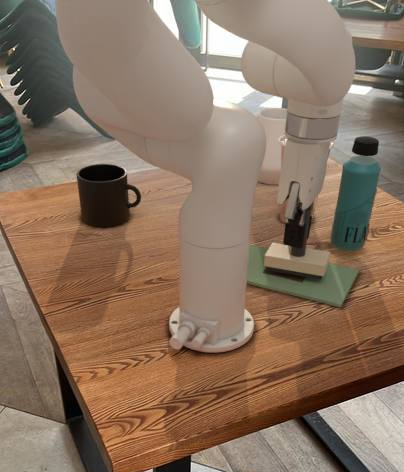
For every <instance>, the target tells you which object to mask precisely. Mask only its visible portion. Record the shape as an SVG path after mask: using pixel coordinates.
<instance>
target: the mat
mask: <svg viewBox="0 0 404 472" xmlns="http://www.w3.org/2000/svg"><path fill="white" fill-rule="evenodd" d="M268 249H269V248H267V247H262V246H258V245H255V244H250V248H249V261H248V274H247V285H251V286H254V287H259V288H263V289H266V290H270V291H275V292H278V293H282V294H286V295H289V296H290V295H291V296H293V297H298V298H301V299H306V300H310V301H314V302H317V303H322V304H326V305H329V306H333V307H337V308H342V306H343V303H344V302H345V300H346V299H347V296H348V295H349V292H350V290H351V288H352V286H353V285H354V282H355V280H356V278H357V277H358V274H359V272H360V269H357V268H353V267H348V266H345V265H340V264H335V263H331V262H329V264H328V266H327V269H326V272H325V274H324V276H323V277H322V279H316V278H310V277H304V276H298V275H293V274H287V273H281V272H276V271H270V270H266V266H264V258H265V254H266V253H267V251H268Z"/></svg>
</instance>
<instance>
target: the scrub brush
mask: <svg viewBox="0 0 404 472" xmlns="http://www.w3.org/2000/svg"><path fill="white" fill-rule="evenodd" d="M296 212H299V213H300V214H301V211H300V210H296ZM310 212H311V207H310V206H309V207H308V208H307V209H306V215H305V221H304V224H306V229H305V236H304V242H303V246H302V248H296V247H292V246H287V245H284V244H283V243H278V242H272V243H271V244H270V245H269V247H268V248H267V249H268V251H267V253H266V254H265V258H264V266H266V270H270V271H276V272H281V273H287V274H293V275H298V276H304V277H310V278H316V279H322V277H323V276H324V274H325V272H326V269H327V266H328V264H329V263H330V258H331V251H327V250H321V249H314V248H309V247H307V243H308V239H307V236H308V228H309V220H310Z"/></svg>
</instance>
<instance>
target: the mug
mask: <svg viewBox="0 0 404 472" xmlns="http://www.w3.org/2000/svg"><path fill="white" fill-rule="evenodd" d="M76 181H77V182H76V183H77V190H78V198H79V206H80V214H81V219H82V222H84V223H85V224H87V225H89V226H92V227H97V228H111V227H116V226H119V225H123V224H124V223H126V222H128V220H129V219H130V216H131V215H130V213H131V211H130V209H132V208H136V207H137V206H138V205H139V204H140V203H141V200H142V194H141V191H140V190H139V189H138V187H137V186H135V185H133V184H130V183H128V182H129V181H128V172H127V169H125V168H124V167H123V166H120V165H117V164H112V163H97V164H90V165H86V166H84V167H82V168H80V169H79V170H77V172H76ZM129 190H130V191H132V192H133V193H134V194H135V196H136V200H135V201H133V202H130V197H129Z"/></svg>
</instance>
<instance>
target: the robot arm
mask: <svg viewBox="0 0 404 472" xmlns="http://www.w3.org/2000/svg"><path fill="white" fill-rule="evenodd" d="M193 1H194V3H195V4H196V6H198V8H199V10H200V11H201V12H202V13H203V15H204V16H205V17H206V18H207V19H208V20H209V21H210V22H212V23H213V24H215V25H216V26H218V27H219V28H222V29H224V30H225V31H227V32H228V33H230V34H232V35H234V36H236V37H238V38H240V39H243V40H245V41H247V42H246V45H244V48H243V50H242V54H241V57H240V70H241V74H242V77H243V79H244V81H245V82H246V84H247V85H248V86H249V87H250V88H252V89H253V90H255V91H257V92H259V93H261V94H265V95H270V96H273V97H277V98H281V99H287V106H286V107H287V108H286V109H287V114H286V123H285V133H284V134H285V136H286V137H287V138H288V139H287V143H286V147H285V151H284V155H283V161H282V166H281V172H280V179H279V184H278V186H277V193H276V200H275V202H276V203H275V204H276V205H277V206H279V207H281V205H283V204H284V202H285V201H286V200H287V199H288V198H289V199H288V204H287V208H286V212H285V218H286V221H285V223H284V231H283V241H282V244H284V245H287V246H292V247H296V248H302V246H303V242H304V236H305V229H306V224H304V221H305V215H306V209H307V208H308V207H309V206H310V207H311V212H310V215H312V212H313V206H314V200H315V199H316V198H317V196H318V197H319V195H320V194H321V192H322V190H323V187H324V184H325V178H326V173H327V167H328V160H329V157H328V152H329V145H330V142H331V141H333V142H334V141H335V140H337V137H338V132H339V126H340V121H341V120H340V119H341V114H342V113H341V112H342V109H343V108H342V107H343V103H344V102H343V101H344V98H345V97H346V96H347V94H348V93H349V91H350V89H351V87H352V85H353V82H354V79H355V75H356V54H355V50H354V45H353V35H352V33H351V31H350V30H349V29H348V28H346V26H345V23H344V21H343V19H342V17H341V16H340V14H339V13H338V10H336V8H335V7H334V5H332V3H331V2H330V1H329V0H193ZM54 5H55V16H56V17H55V19H56V26H57V27H56V28H57V33H58V38H59V41H60V44H61V46H62V49H63V51H64V53H65V55H66V57H67V58H68V60H69V61H70V62H71V64H72V65H73V67H72V85H73V90H74V93H75V96H76V99H77V101H78V104H79V105H80V108H81V109H82V111H83V112H84V114H85V115H86V116H87V117H88V118H89V119H90V120H91V121H92V122H93V123H94V124H95V125H96V126H98V127H99V128H100V129H101V130H102V131H104V132H105V133H106V134H107V135H109V136H111V137H112V139H114V140H116V141H117V142H118V143H120V145H122V146H123V147H125V148H126V149H127V150H128V151H130V152H131V153H133V155H135V156H137V158H140V159H141V160H142V161H144V162H146V163H148V164H149V165H151V166H154V167H156V168H158V169H161V170H165V171H166V172H169V173H173V174H175V175H178V176H180V177H182V178H184V179H187V180H188V181H190V183H191V185H192V186H191V190H190V192H189V194H188V195H187V197H186V198H185V200H184V201H183V203H182V204H181V207H180V208H179V213H178V221H177V222H178V223H177V224H178V225H177V228H178V230H177V231H178V301H179V302H178V303H179V306H178V307H176V308H175V309H174V310H173V311H172V312H171V315H170V316H169V320H168V329H169V332H170V335H171V337H170V339H169V340H168V344H169V346H170V347H171V348H172V349H174V350H177V351H178V350H181V349H182V348H183V347H185V348H188V349H190V350H194V351H197V352H202V353H212V354H213V353H224V352H228V351H233V350H236V349H238V348H240V347H242V346H244V345H245V344H246V343H248V342H249V341H250V339H251V338H252V336H253V334H254V331H255V319H254V317H253V316H252V314H251V313H250V312H249V310H247V308H246V299H247V298H246V297H247V285H248V284H247V274H248V261H249V248H250V245H251V235H252V234H251V233H252V220H253V210H254V203H255V198H256V197H255V196H256V192H257V191H256V190H257V186H258V183H259V182H258V178H259V175H260V171H261V168H262V164H263V161H264V157H265V151H266V134H265V130H264V128H263V126H262V124H261V122H260V121H259V120H258V118H257V115H255V114H254V113H252V112H251V111H250V110H248V109H246V108H244V107H242V106H240V105H238V104H234V103H231V102H228V101H225V100H222V99H217V98H214V97H215V96H214V93H213V88H212V85H211V82H210V79H209V78H208V76H207V74H206V72H205V71H204V69H203V67H202V66H201V65H200V63H199V62H198V61H197V59H196V58H195V57H194V56H193V54H191V52H190V51H189V50H188V49H187V48H186V47H185V46H184V44H183V43H182V42H181V41H180V40H179V38H178V37H177V36H176V35H175V34H174V32H173V31H172V30H171V29H170V28H169V27H168V25H167V24H166V23H165V22H164V21H163V20H162V18H161V17H160V15H159V14H158V13H157V11H156V10H155V8H154V7H153V5H152V3H151V2H150V0H54ZM317 199H318V198H317ZM296 210H300V211H301V214H300V213H299V212H296ZM311 220H312V221H313V219H312V216H310V220H309V228H308V236H307V240H309V238H310V233H311V227H312V222H311Z"/></svg>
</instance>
